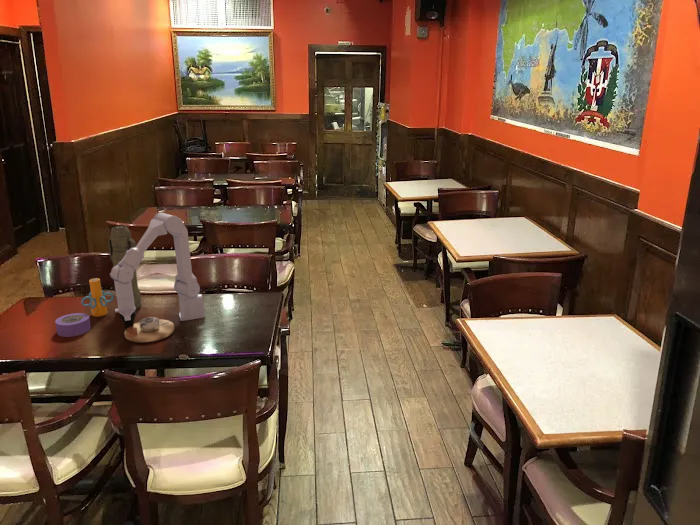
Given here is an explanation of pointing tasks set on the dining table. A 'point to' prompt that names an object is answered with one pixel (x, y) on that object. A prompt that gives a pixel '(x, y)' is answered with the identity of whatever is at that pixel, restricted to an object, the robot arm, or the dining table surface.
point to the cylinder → (97, 298)
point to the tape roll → (73, 324)
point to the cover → (149, 325)
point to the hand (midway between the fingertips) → (130, 330)
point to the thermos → (123, 254)
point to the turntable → (137, 336)
